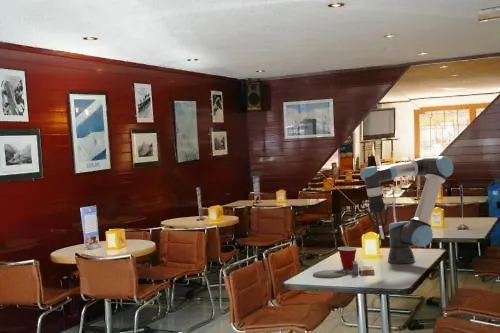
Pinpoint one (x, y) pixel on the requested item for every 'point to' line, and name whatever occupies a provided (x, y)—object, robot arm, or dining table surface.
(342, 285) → the dining table surface
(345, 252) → the plastic cup
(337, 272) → the mat
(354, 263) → the bench dog
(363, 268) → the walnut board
